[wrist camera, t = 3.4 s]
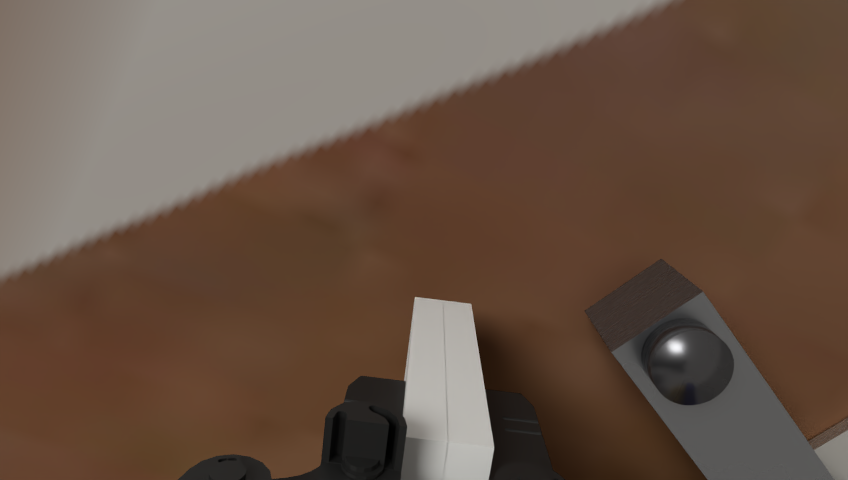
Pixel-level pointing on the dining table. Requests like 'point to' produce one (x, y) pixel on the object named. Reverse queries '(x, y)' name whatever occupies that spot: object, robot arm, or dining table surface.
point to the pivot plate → (833, 449)
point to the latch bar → (702, 380)
